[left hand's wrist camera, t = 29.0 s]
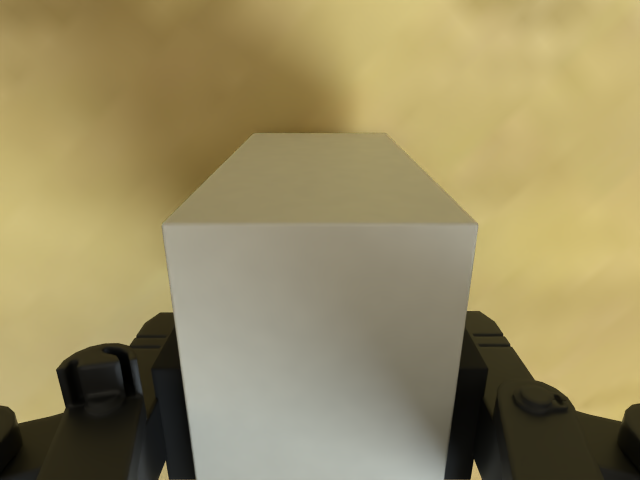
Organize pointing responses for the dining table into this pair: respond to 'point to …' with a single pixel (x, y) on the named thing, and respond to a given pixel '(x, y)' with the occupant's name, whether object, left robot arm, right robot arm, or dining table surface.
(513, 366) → the left robot arm
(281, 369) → the brick
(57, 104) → the dining table surface
